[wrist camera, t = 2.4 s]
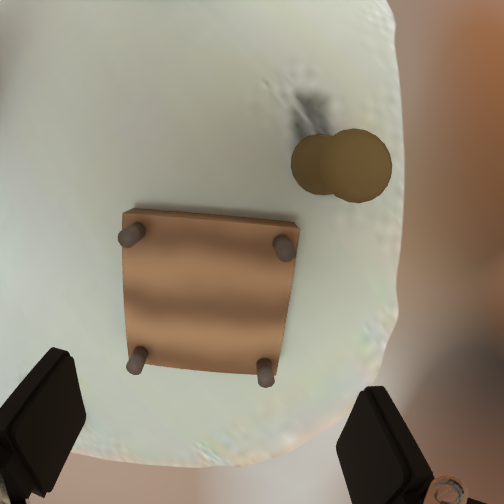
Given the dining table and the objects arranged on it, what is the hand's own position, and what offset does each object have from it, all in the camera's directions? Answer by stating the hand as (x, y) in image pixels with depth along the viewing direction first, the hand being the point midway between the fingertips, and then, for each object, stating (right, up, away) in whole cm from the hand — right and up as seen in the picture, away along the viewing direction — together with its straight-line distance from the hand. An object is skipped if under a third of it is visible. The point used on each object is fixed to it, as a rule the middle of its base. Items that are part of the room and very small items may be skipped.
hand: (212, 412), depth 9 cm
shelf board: (-3, +1, +23) cm, 24 cm away
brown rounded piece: (+8, +14, +21) cm, 26 cm away
